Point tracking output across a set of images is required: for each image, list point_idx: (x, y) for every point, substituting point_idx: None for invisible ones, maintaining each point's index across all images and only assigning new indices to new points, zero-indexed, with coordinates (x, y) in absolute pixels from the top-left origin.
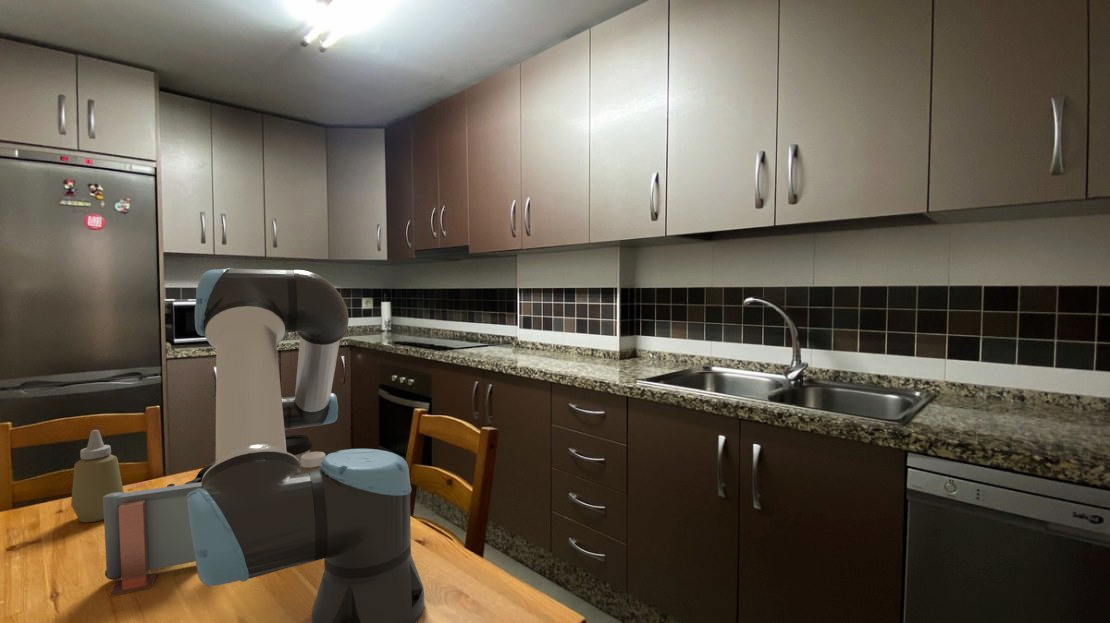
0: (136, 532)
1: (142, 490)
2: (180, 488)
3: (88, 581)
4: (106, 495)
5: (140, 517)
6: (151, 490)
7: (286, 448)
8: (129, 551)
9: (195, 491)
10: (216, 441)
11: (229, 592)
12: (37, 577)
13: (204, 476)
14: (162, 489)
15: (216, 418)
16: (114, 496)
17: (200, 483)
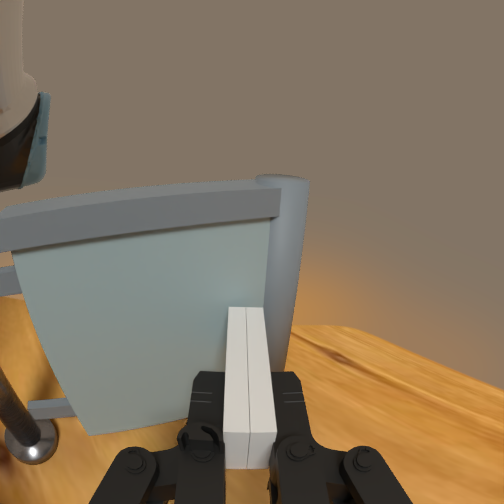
0: None
1: (214, 192)
2: (70, 196)
3: (325, 392)
4: (303, 179)
5: None
6: (175, 191)
7: None
8: None
9: (44, 93)
10: (22, 52)
11: (33, 335)
12: (438, 388)
13: (36, 85)
14: (133, 192)
15: (22, 20)
16: (266, 175)
17: (5, 214)
